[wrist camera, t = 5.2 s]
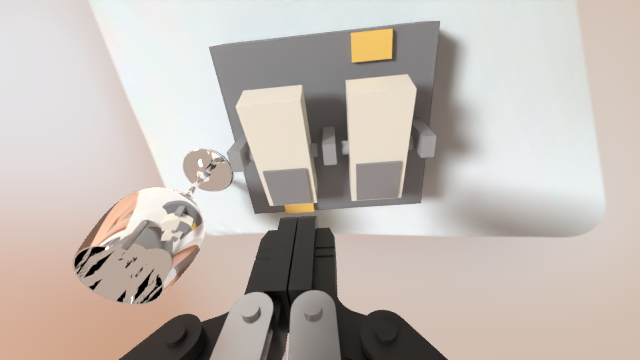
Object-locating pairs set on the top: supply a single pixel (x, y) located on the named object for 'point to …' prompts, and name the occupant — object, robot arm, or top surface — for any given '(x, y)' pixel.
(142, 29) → the top surface
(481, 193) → the top surface
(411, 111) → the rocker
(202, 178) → the wineglass
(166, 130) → the top surface
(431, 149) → the switch unit
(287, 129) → the block
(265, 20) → the top surface
